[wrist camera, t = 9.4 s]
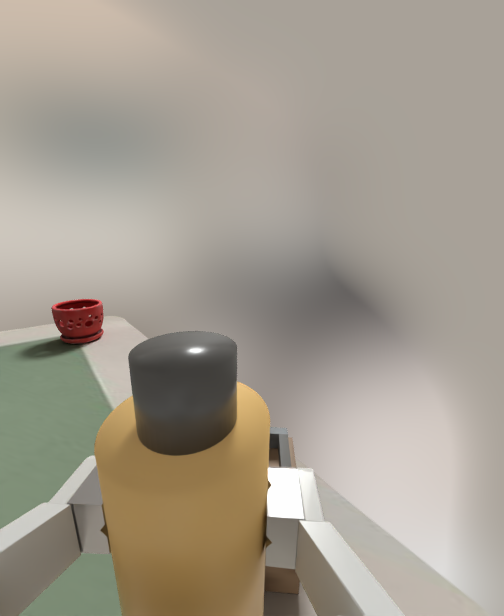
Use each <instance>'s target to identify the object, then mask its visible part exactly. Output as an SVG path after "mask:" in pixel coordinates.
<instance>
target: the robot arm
mask: <svg viewBox="0 0 504 616" xmlns="http://www.w3.org/2000/svg"><path fill="white" fill-rule="evenodd" d="M81 553H96V554H110V553H111V547H110V541H109V535H108V529H107V524H106V518H105V512H104V506H103V500H102V494H101V488H100V482H99V476H98V470H97V465H96V459H95V456H90V457H88V458H86V459H85V460H84V461H83V463H82V464H81V465H80V466H79V467H78V468H77V470H76V471H75V472H74V473H73V474H72V475H71V477H70V478H69V479H68V480H67V481H66V483H65V484H64V485H63V486H62V487H61V488H60V490H59V491H58V492H57V493H56V494H55V495H54V497H53V498H52V499H51V500H50V501H49V502H48V503H42V504H40V505H39V506H37V507H36V508H34V509H32V510H31V511H29V512H28V513H26V514H24V515H23V516H21V517H20V518H18V519H16V520H15V521H13V522H12V523H10V524H8V525H7V526H5V527H3V528H2V529H0V616H18V615H19V614H20V613H21V612H22V611H23V610H24V609H25V608H26V607H28V606H29V605H30V604H31V603H32V602H33V601H34V600H35V599H36V598H37V597H38V596H39V595H40V594H41V593H42V592H43V591H44V590H45V589H46V588H47V587H48V586H49V585H50V584H51V583H52V582H53V581H55V580H56V579H57V578H58V577H59V576H60V575H61V574H62V573H63V572H64V571H65V570H66V569H67V568H68V567H69V566H70V565H71V564H72V563H73V562H74V561H75V560H76V559H77V558H78V557H79V556H80V555H81ZM265 566H270V567H279V568H288V569H295V572H296V574H297V576H298V578H299V580H300V582H301V584H302V586H303V588H304V590H305V592H306V594H307V596H308V598H309V600H310V602H311V604H312V606H313V608H314V610H315V612H316V614H317V616H405V615H404V614H403V613H402V611H401V610H400V609H399V608H398V606H397V605H396V604H395V603H394V601H393V600H392V599H391V598H390V596H389V595H388V594H387V593H386V591H385V590H384V589H383V588H382V586H381V585H380V584H379V583H378V581H377V580H376V579H375V578H374V576H373V575H372V574H371V573H370V571H369V570H368V569H367V568H366V566H365V565H364V564H363V563H362V561H361V560H360V559H359V558H358V556H357V555H356V554H355V553H354V551H353V550H352V549H351V548H350V546H349V545H348V544H347V543H346V541H345V540H344V539H343V538H342V536H341V535H340V534H339V533H338V531H337V530H336V529H335V528H334V526H333V525H332V524H331V523H330V522H325V520H324V515H323V511H322V506H321V502H320V497H319V492H318V488H317V483H316V479H315V474H314V471H313V469H312V468H296V467H274V466H269V467H268V491H267V507H266V535H265Z"/></svg>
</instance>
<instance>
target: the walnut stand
mask: <svg viewBox="0 0 504 616" xmlns="http://www.w3.org/2000/svg"><path fill="white" fill-rule="evenodd" d="M269 466H274V467H296V462H295V455H294V448H293V441H292V438H288V432H287V428H276V427H275V428H274V427H270V439H269ZM299 582H300V580H299V578H298V576H297V574H296V572H295V569H288V568H279V567H270V566H265V580H264V591H269V592H281V593H293V594H298V592H299Z"/></svg>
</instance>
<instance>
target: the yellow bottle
mask: <svg viewBox="0 0 504 616" xmlns="http://www.w3.org/2000/svg"><path fill="white" fill-rule="evenodd" d="M128 359H129V368H130V376H131V385H132V394H133V396H131V397H130V398H128V399H127V400H125V401H124V402H123V403H121V404H120V405H119V406H118V407H116V408H115V409H114V410H113V411H112V412H111V413H110V415H109V416H108V417H107V418H106V419H105V421H104V422H103V424H102V426H101V427H100V429H99V432H98V434H97V437H96V441H95V452H94V453H95V459H96V465H97V470H98V476H99V482H100V488H101V494H102V500H103V506H104V512H105V518H106V524H107V529H108V535H109V541H110V547H111V553H112V559H113V565H114V571H115V577H116V582H117V588H118V594H119V600H120V606H121V612H122V616H263V608H264V580H265V535H266V507H267V491H268V467H269V439H270V415H269V411H268V408H267V406H266V404H265V402H264V401H263V399H262V398H261V397H260V396H259V395H258V394H257V393H256V392H255V391H254V390H253V389H251V388H250V387H248V386H246V385H244V384H242V383H240V382H237V345H236V343H235V342H234V341H233V340H232V339H230V338H229V337H227V336H224V335H221V334H217V333H212V332H203V331H188V332H176V333H170V334H165V335H161V336H157V337H154V338H151V339H148V340H146V341H144V342H142V343H140V344H138V345H137V346H136V347H134V348H133V349H132V350H131V352H130V353H129V357H128Z"/></svg>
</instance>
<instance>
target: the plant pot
mask: <svg viewBox="0 0 504 616" xmlns="http://www.w3.org/2000/svg"><path fill="white" fill-rule="evenodd" d="M83 307H86V308H83ZM70 308H73V309H71V310H70ZM52 313H53V318H54V321H55V324H56V326H57V328H58V330H59V331H60V332H61V333H62V335H61V336H60V338H61V340H62V341H64V342H66V343H71V344H79V343H86V342H90V341H93V340H96V339H98V338H99V337H101V336H102V334H103V329H101V326H102V323H103V306H102V302H101V301H99V300H94V299H80V300H71V301H66V302H61V303H58V304H55V305H53V306H52ZM89 315H91V316H90V317H89ZM60 320H61V321H60Z"/></svg>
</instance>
